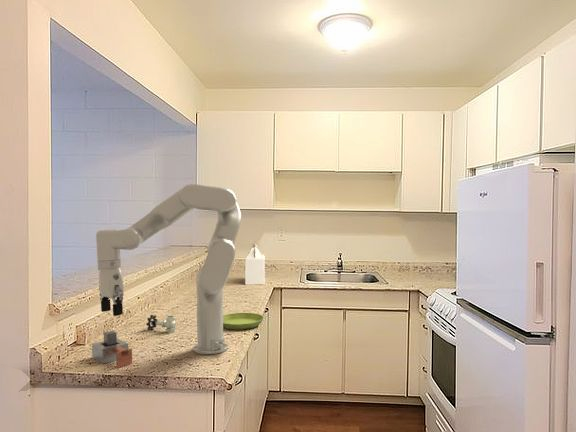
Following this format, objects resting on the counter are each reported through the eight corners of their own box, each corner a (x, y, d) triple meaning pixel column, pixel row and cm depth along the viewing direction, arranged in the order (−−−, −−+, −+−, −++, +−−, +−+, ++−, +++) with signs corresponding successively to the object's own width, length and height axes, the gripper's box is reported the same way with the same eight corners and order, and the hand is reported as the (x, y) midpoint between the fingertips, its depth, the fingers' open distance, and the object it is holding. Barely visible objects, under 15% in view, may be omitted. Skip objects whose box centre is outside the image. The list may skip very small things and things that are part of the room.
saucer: (261, 318, 213) (261, 311, 213) (266, 330, 192) (266, 322, 192) (217, 320, 209) (217, 313, 209) (217, 332, 189) (217, 325, 189)
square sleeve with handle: (92, 357, 157) (92, 343, 157) (117, 351, 164) (116, 338, 164) (111, 369, 146) (111, 354, 146) (137, 362, 152) (137, 347, 152)
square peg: (116, 357, 157) (116, 332, 157) (107, 360, 155) (107, 334, 155) (113, 355, 160) (112, 330, 159) (104, 357, 157) (103, 332, 157)
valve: (179, 330, 192) (155, 328, 196) (179, 315, 192) (155, 313, 196) (170, 334, 186) (146, 332, 190) (170, 318, 186) (146, 316, 190)
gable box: (246, 279, 323) (246, 241, 322) (265, 279, 324) (264, 240, 323) (245, 285, 301) (244, 243, 300) (264, 284, 301) (264, 243, 301)
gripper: (130, 265, 153) (133, 314, 154) (109, 261, 165) (111, 307, 166) (109, 268, 148) (112, 319, 148) (88, 264, 160) (91, 311, 161)
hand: (111, 313), depth 157 cm, fingers open, 9 cm apart
